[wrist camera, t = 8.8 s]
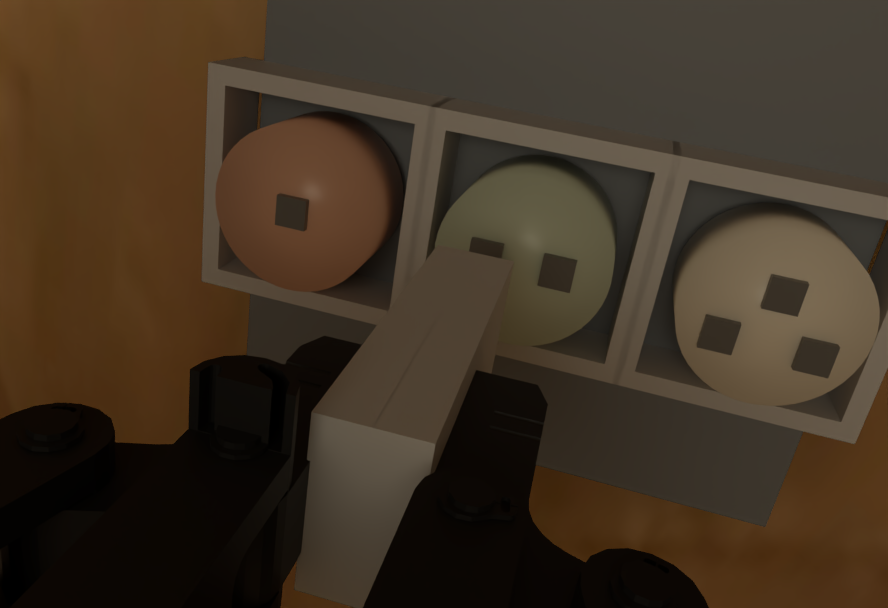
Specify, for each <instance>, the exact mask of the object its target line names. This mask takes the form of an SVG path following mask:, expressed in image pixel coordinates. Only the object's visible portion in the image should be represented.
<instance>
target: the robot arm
mask: <svg viewBox="0 0 888 608" xmlns="http://www.w3.org/2000/svg"><path fill="white" fill-rule="evenodd" d="M513 264H514V261H510V260H505V259H501V258H496V257H492V256H487V255H483V254H478V253H474V252H469V251H464V250H460V249H455V248H451V247H446V246H442V245H437V247H436V248H435V249H434V251H433V252H432V253H431V255H430V256H429V257H428V258H427V260H426V261H425V262H424V264H423V265H422V266H421V268H420V269H419V270H418V272H417V273H416V274H415V276H414V277H413V278H412V280H411V281H410V282H409V284H408V285H407V286H406V288H405V289H404V290H403V292H402V293H401V294H400V296H399V297H398V298H397V300H396V301H395V302H394V303H393V305H392V306H391V307H390V309H389V310H388V311H387V313H386V314H385V315H384V317H383V318H382V319H381V321H380V322H379V323H378V325H377V326H376V327H375V329H374V330H373V331H372V333H371V334H370V335H369V337H368V338H367V339H366V341H365V342H364V343H363V344H362V345H361V344H357V343H353V342H349V341H345V340H341V339H337V338H332V337H328V336H322V337H320V338H317V339H315V340H313V341H310V342H308V343H306V344H303V345H301V346H300V347H299V348H298V349H297V350H296V351H295V352H294V353H293V354H292V355H291V356H290V357H289V358H288V359H287V361H286V364H281V363H278V362H275V361H273V360H270V359H267V358H262V357H255V356H248V355H238V356H223V357H219V358H215V359H211V360H207V361H204V362H202V363H200V364H198V365H197V366H195V367H193V368H191V369H190V394H189V429H188V430H187V431H186V432H185V433H184V434H183V435H182V436H181V437H180V438H179V439H178V440H177V441H176V442H175V443H174V444H161V445H155V444H135V443H116V442H115V430H114V427H113V424H112V420H111V418H109V417H108V416H107V415H105V414H104V413H103V412H101V411H100V410H99V409H95V408H92V407H89V406H85V405H82V404H72V403H53V404H46V405H39V406H33V407H30V408H27V409H24V410H21V411H18V412H15V413H13V414H10V415H8V416H6V417H4V418H2V419H0V608H280V607H281V597H282V586H283V583H284V581H285V579H286V578H287V576H288V574H289V572H290V571H291V569H292V567H293V566H294V564H295V562H296V561H297V566H296V576H295V586H294V590H297V591H300V592H304V593H307V594H310V595H314V596H317V597H321V598H324V599H327V600H331V601H334V602H338V603H341V604H344V605H348V606H351V607H355V608H709V607H708V605H707V603H706V600H705V599H704V597H703V596H702V594H701V592H700V591H699V589H698V588H697V586H696V585H695V583H694V582H693V581H692V580H691V579H690V578H689V577H687V576H686V575H685V574H684V573H683V572H682V571H680V570H679V569H678V568H677V567H676V566H674V565H673V564H671V563H669V562H667V561H665V560H663V559H661V558H659V557H657V556H655V555H653V554H650V553H645V552H641V551H637V550H633V549H629V548H625V549H606V550H604V551H601V552H599V553H597V554H594V555H592V556H590V558H589V559H588V560H587V562H586V563H585V562H583V561H581V560H580V559H578V558H576V557H574V556H572V555H570V554H568V553H567V552H565V551H563V550H562V549H560V548H559V547H557V546H556V545H554V544H553V543H552V542H550V541H549V540H548V539H547V538H546V537H545V536H544V535H543V534H542V533H541V532H540V531H539V529H538V528H537V526H536V525H535V524H534V522H533V520H532V517H531V515H530V512H529V496H530V491H531V486H532V481H533V476H534V471H535V466H536V461H537V456H538V451H539V446H540V441H541V436H542V431H543V426H544V421H545V416H546V411H547V406H548V403H547V402H546V400H545V398H544V396H543V394H542V392H541V390H540V388H539V386H538V385H536V384H532V383H528V382H524V381H520V380H515V379H511V378H507V377H503V376H499V375H495V374H491V373H492V368H493V363H494V358H495V353H496V348H497V344H498V339H499V334H500V329H501V324H502V319H503V314H504V309H505V304H506V299H507V294H508V289H509V284H510V279H511V274H512V269H513Z"/></svg>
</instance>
